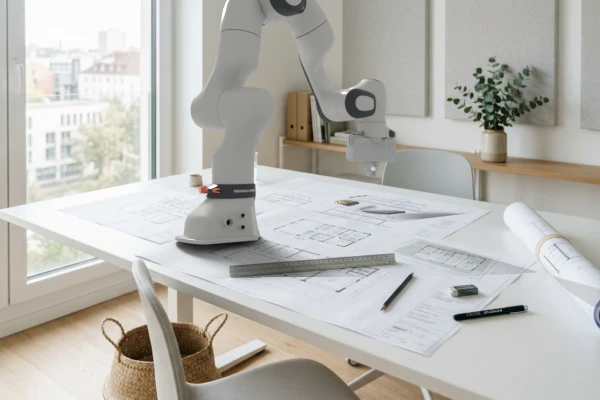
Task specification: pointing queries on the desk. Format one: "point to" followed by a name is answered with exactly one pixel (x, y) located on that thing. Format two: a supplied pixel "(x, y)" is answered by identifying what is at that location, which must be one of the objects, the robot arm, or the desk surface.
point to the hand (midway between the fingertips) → (371, 176)
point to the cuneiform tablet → (348, 201)
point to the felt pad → (384, 211)
